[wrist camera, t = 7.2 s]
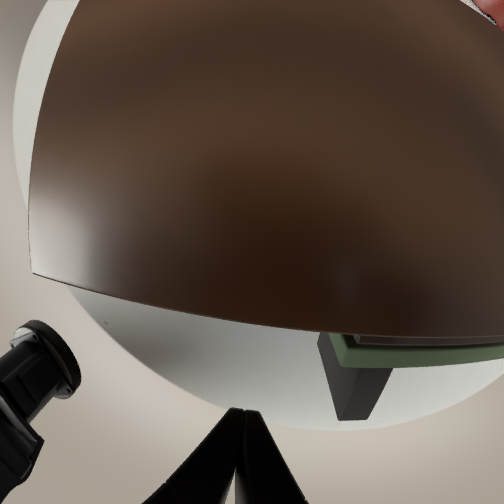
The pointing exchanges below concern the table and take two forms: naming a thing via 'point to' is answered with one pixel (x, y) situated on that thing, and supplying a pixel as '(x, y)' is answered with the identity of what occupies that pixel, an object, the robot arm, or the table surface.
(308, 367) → the table surface
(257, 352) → the table surface
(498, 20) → the flower pot
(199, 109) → the cupboard
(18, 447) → the robot arm
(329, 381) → the sliding door
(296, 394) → the table surface
